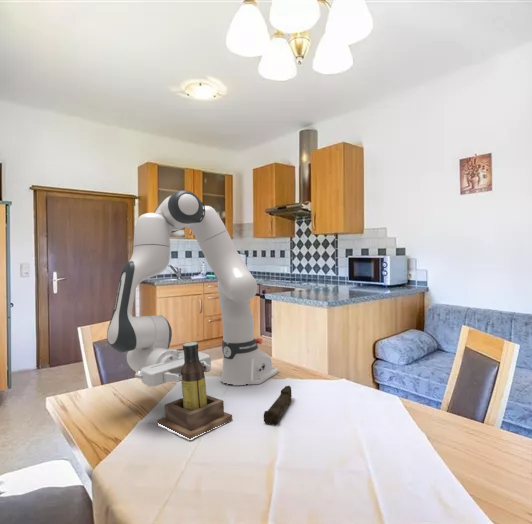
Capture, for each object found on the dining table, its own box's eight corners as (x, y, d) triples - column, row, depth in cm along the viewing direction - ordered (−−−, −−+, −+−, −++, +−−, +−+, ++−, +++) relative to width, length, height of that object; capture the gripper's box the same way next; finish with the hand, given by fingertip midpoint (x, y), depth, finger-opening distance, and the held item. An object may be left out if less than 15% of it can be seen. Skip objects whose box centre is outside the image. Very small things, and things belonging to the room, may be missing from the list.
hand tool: (277, 427, 95) (277, 409, 95) (263, 425, 97) (262, 407, 97) (299, 399, 113) (298, 384, 113) (286, 398, 114) (286, 383, 114)
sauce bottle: (203, 410, 103) (199, 339, 103) (211, 418, 98) (207, 343, 98) (180, 416, 100) (176, 343, 100) (187, 425, 95) (183, 347, 94)
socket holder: (199, 407, 109) (198, 389, 109) (232, 420, 100) (231, 400, 100) (157, 425, 98) (156, 405, 98) (190, 441, 89) (189, 418, 89)
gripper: (130, 363, 100) (159, 372, 90) (192, 346, 115) (222, 353, 106) (132, 386, 100) (161, 397, 91) (193, 366, 115) (223, 375, 106)
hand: (194, 373), depth 98 cm, fingers open, 8 cm apart
